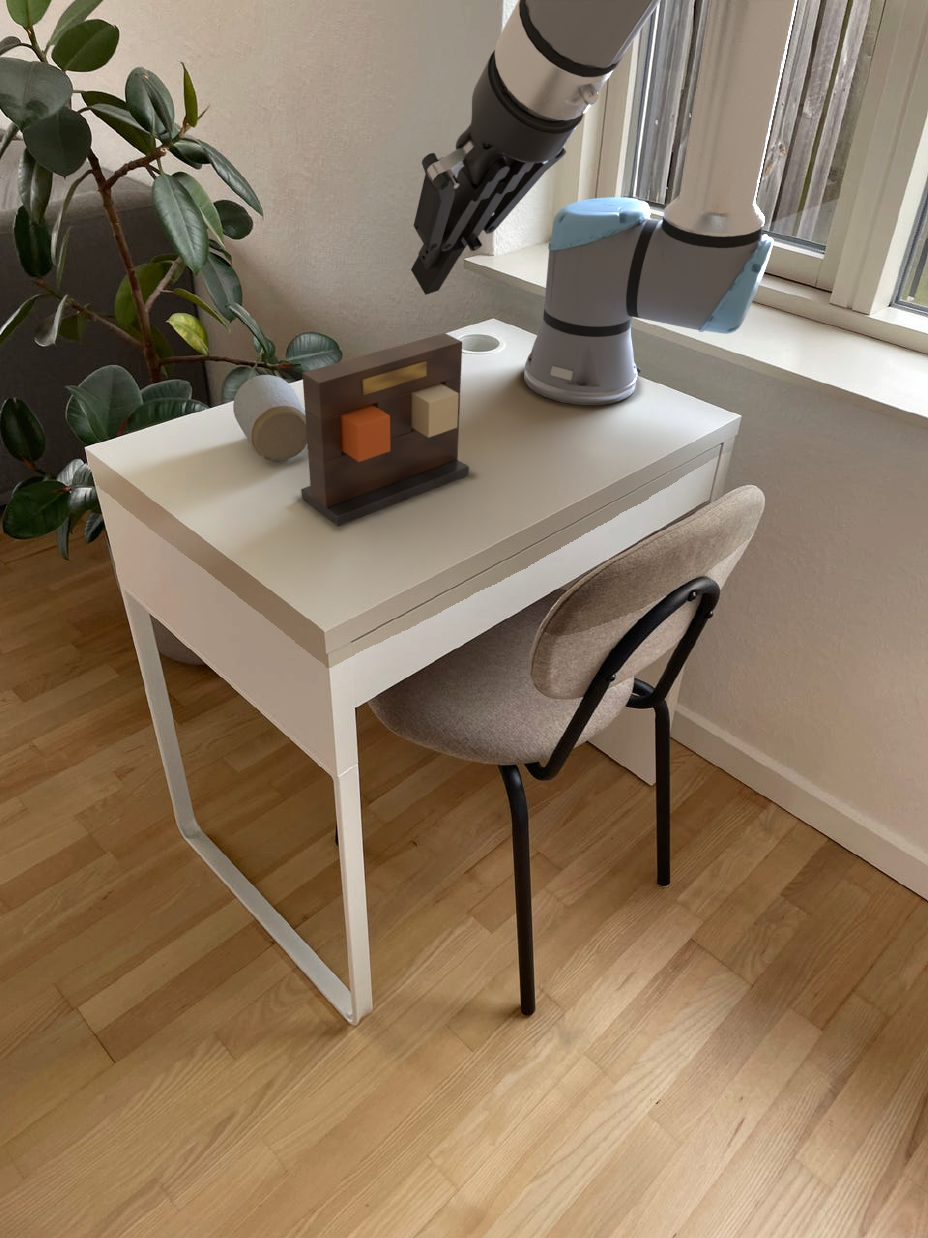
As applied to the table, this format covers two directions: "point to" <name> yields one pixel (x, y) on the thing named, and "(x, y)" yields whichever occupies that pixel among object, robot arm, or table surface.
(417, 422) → the beige key
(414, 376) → the brown wooden upright panel
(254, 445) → the ceramic mug
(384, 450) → the orange key
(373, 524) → the table surface
